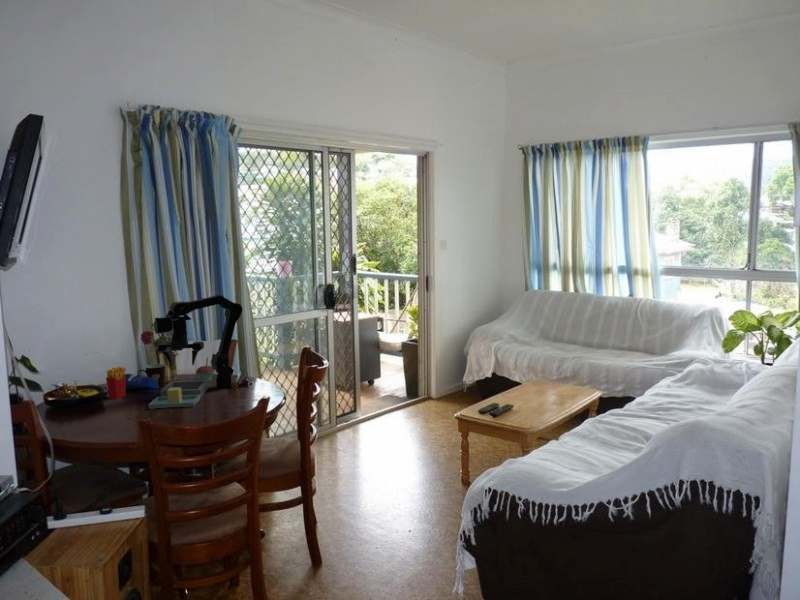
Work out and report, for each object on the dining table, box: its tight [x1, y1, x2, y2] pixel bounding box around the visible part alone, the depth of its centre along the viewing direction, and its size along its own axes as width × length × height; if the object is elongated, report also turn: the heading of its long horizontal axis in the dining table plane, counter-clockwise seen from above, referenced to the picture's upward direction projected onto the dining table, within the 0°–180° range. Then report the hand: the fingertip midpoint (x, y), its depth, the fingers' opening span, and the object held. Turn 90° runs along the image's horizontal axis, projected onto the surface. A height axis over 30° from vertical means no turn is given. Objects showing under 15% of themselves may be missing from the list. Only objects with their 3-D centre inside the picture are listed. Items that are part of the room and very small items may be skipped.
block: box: [167, 387, 182, 403], centre depth 265 cm, size 4×4×6 cm
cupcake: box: [195, 355, 216, 382], centre depth 304 cm, size 9×8×12 cm
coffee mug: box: [137, 363, 166, 388], centre depth 294 cm, size 12×9×10 cm
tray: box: [148, 395, 201, 410], centre depth 265 cm, size 18×12×2 cm, turn 95°
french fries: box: [105, 366, 126, 400], centre depth 278 cm, size 9×4×13 cm, turn 155°
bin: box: [159, 379, 210, 398], centre depth 282 cm, size 17×17×4 cm
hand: (182, 365), depth 279 cm, fingers open, 9 cm apart
